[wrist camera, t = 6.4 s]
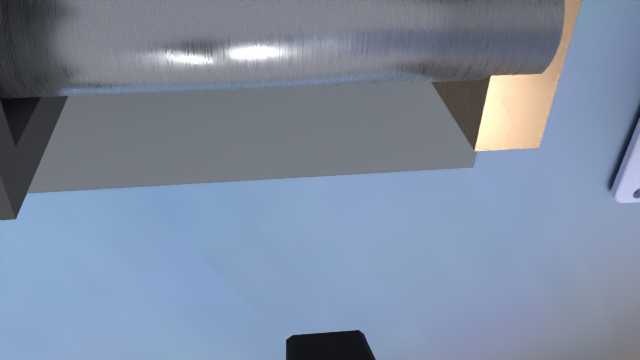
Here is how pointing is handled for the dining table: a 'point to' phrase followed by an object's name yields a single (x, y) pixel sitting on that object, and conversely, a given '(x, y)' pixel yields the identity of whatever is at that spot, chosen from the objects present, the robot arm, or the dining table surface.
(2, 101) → the dark grey upright slab
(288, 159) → the mat
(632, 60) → the dining table surface
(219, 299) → the dining table surface
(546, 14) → the rod holder
